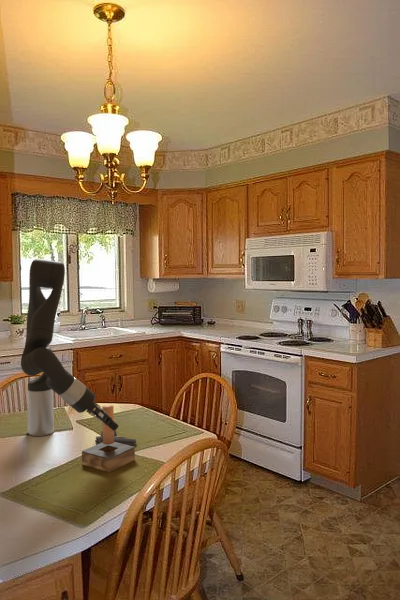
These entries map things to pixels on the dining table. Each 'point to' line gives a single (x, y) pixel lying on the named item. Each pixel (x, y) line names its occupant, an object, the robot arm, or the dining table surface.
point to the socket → (108, 456)
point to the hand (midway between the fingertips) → (114, 426)
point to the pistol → (117, 440)
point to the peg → (107, 431)
